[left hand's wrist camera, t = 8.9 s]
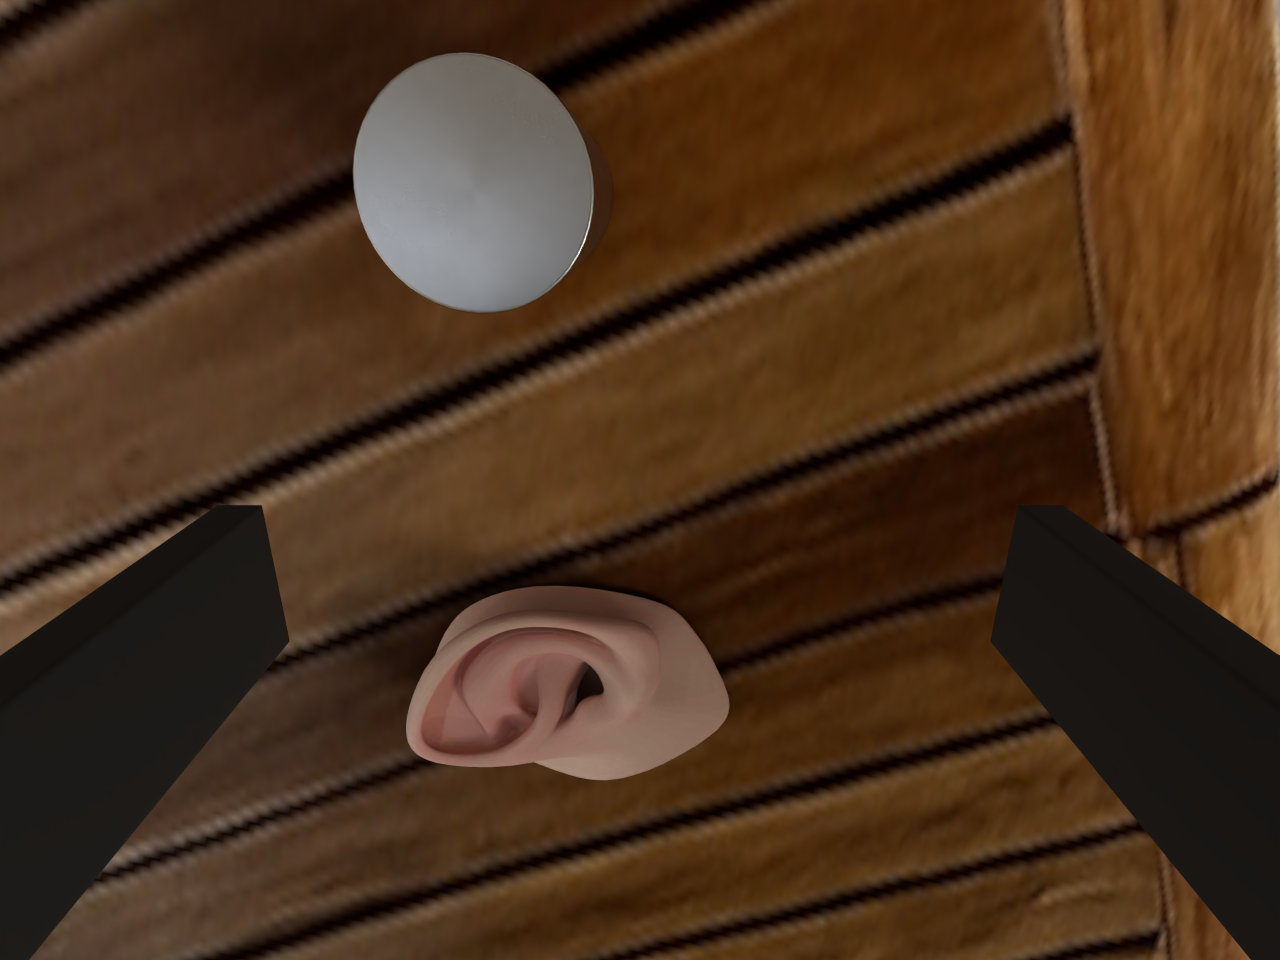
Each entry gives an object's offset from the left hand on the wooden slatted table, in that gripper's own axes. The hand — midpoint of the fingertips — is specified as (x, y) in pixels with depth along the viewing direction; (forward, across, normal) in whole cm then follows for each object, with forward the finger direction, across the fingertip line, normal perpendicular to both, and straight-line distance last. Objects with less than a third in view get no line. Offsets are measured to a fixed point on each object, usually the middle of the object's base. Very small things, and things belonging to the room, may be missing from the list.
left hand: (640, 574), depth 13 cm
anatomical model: (+17, +3, +15) cm, 22 cm away
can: (+16, +4, -7) cm, 18 cm away
